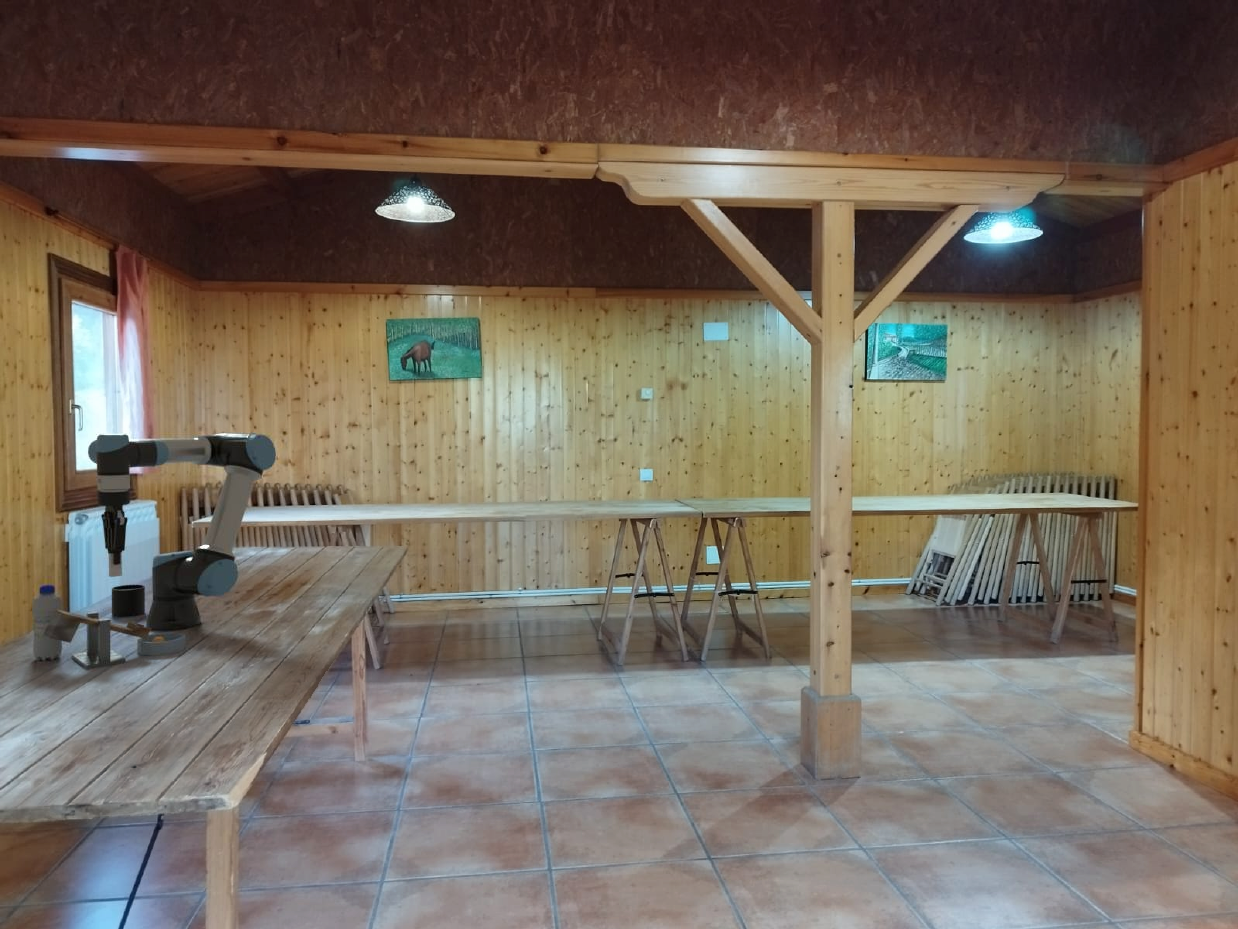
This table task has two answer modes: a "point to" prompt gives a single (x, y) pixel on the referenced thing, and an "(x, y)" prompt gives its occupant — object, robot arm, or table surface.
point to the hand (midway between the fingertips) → (115, 575)
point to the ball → (159, 639)
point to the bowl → (161, 644)
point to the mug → (128, 600)
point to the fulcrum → (98, 646)
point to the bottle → (45, 623)
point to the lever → (68, 623)
